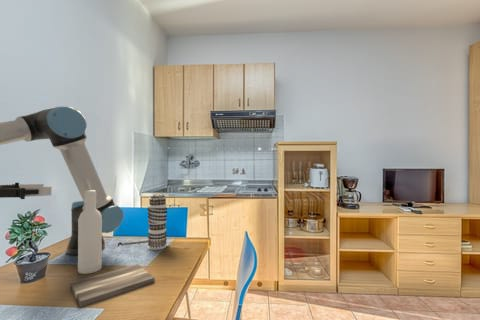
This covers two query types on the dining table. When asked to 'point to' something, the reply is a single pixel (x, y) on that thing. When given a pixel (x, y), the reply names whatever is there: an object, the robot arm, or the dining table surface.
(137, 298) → the dining table surface
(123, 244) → the wooden handled claw tool
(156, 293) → the dining table surface
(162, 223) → the decorative candle
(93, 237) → the bottle
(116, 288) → the subfloor panel
